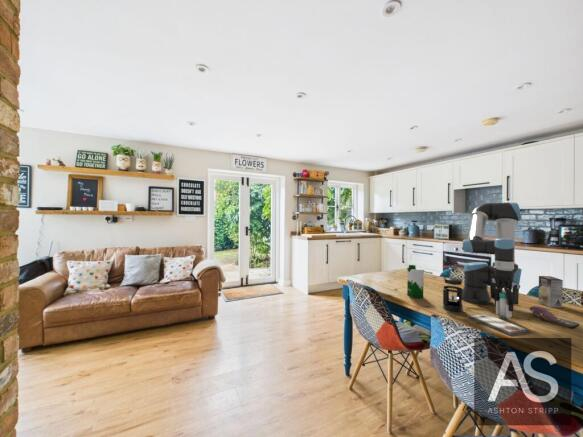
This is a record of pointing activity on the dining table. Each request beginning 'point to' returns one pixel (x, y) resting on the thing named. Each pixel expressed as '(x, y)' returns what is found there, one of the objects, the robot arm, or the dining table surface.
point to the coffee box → (550, 291)
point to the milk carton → (415, 281)
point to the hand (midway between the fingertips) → (503, 315)
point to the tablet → (499, 324)
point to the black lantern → (451, 304)
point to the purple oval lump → (543, 313)
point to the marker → (503, 305)
